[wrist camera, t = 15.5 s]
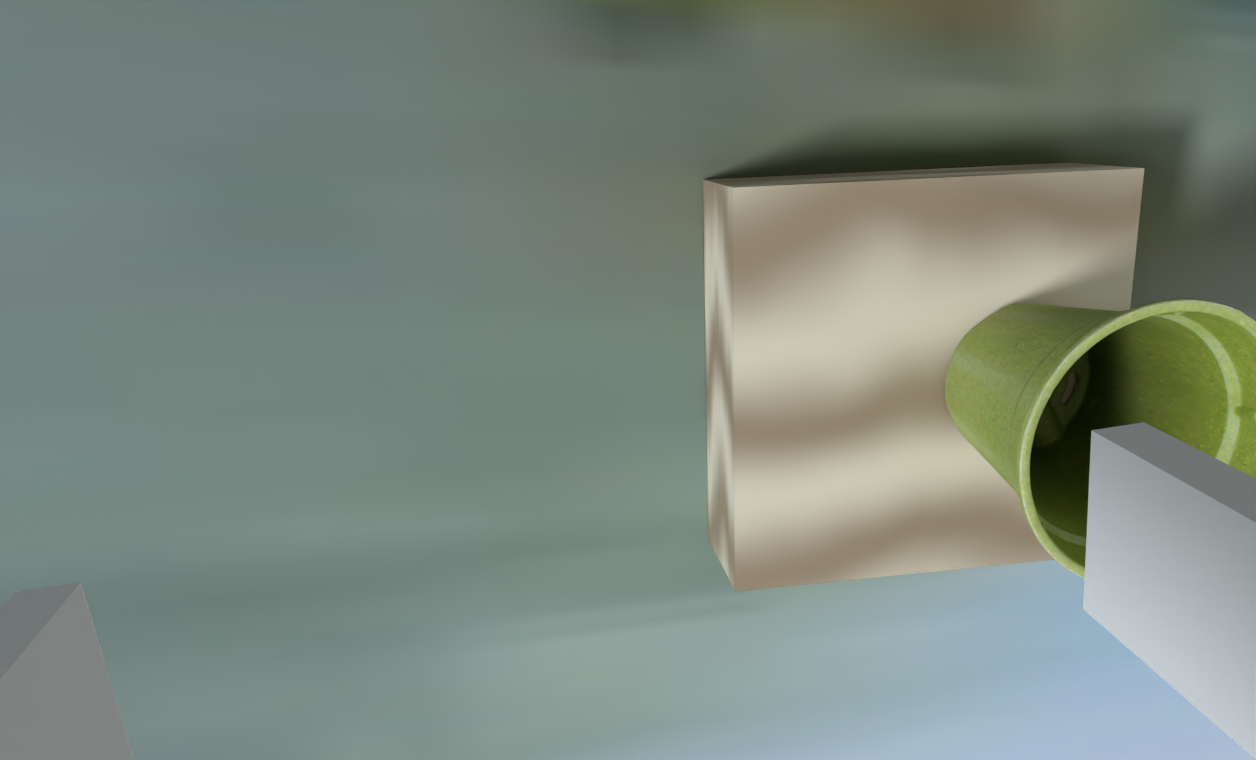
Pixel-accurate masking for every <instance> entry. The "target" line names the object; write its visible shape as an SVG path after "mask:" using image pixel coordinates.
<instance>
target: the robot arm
mask: <svg viewBox="0 0 1256 760" xmlns="http://www.w3.org/2000/svg"><path fill="white" fill-rule="evenodd" d="M1083 609H1084V610H1085V611H1086V612H1087V613H1088V614H1089V615H1091V616H1092V617H1093V618H1094V619H1095V620H1096V621H1097V622H1099V623H1100V624H1101V625H1102V626H1103V627H1104V628H1105V629H1107V630H1108V631H1109V632H1110V633H1111V634H1112V635H1114V636H1115V637H1116V638H1117V639H1118V640H1119V641H1120V642H1122V643H1123V644H1124V645H1125V646H1126V647H1127V648H1128V649H1130V650H1131V651H1132V652H1133V653H1134V654H1135V655H1137V656H1138V657H1139V658H1140V659H1141V660H1142V661H1143V662H1145V663H1146V664H1147V665H1148V666H1149V667H1150V668H1151V669H1153V670H1154V671H1155V672H1156V673H1157V674H1158V675H1160V676H1161V677H1162V678H1163V679H1164V680H1165V681H1166V682H1168V683H1169V684H1170V685H1171V686H1172V687H1173V688H1174V689H1176V690H1177V691H1178V692H1179V693H1180V694H1181V695H1183V696H1184V697H1185V698H1186V699H1187V700H1188V701H1189V702H1191V703H1192V704H1193V705H1194V706H1195V707H1196V708H1197V709H1199V710H1200V711H1201V712H1202V713H1203V714H1204V715H1206V716H1207V717H1208V718H1209V719H1210V720H1211V721H1212V722H1214V723H1215V724H1216V725H1217V726H1218V727H1219V728H1220V729H1222V730H1223V731H1224V732H1225V733H1226V734H1227V735H1229V736H1230V737H1231V738H1232V739H1233V740H1234V741H1235V742H1237V743H1238V744H1239V745H1240V746H1241V747H1242V748H1243V749H1245V750H1246V751H1247V752H1248V753H1249V754H1250V755H1252V756H1253V757H1254V758H1255V759H1256V479H1255V478H1253V477H1251V476H1249V475H1247V474H1245V473H1243V472H1241V471H1239V470H1237V469H1235V468H1233V467H1231V466H1229V465H1228V464H1226V463H1224V462H1222V461H1220V460H1218V459H1216V458H1214V457H1212V456H1210V455H1208V454H1206V453H1204V452H1202V451H1200V450H1198V449H1196V448H1194V447H1192V446H1190V445H1188V444H1186V443H1184V442H1182V441H1180V440H1178V439H1176V438H1174V437H1172V436H1170V435H1168V434H1166V433H1164V432H1162V431H1160V430H1158V429H1156V428H1154V427H1152V426H1150V425H1148V424H1146V423H1144V422H1143V423H1136V424H1130V425H1123V426H1116V427H1110V428H1103V429H1097V430H1091V449H1090V471H1089V493H1088V515H1087V536H1086V558H1085V580H1084V602H1083ZM0 760H134V756H133V753H132V750H131V746H130V743H129V740H128V736H127V733H126V730H125V726H124V723H123V720H122V717H121V713H120V710H119V707H118V703H117V700H116V697H115V693H114V690H113V687H112V683H111V680H110V677H109V673H108V670H107V667H106V664H105V660H104V657H103V654H102V650H101V647H100V644H99V640H98V637H97V634H96V630H95V627H94V624H93V620H92V617H91V614H90V611H89V607H88V604H87V601H86V597H85V594H84V591H83V587H82V584H81V582H79V583H73V584H66V585H59V586H53V587H46V588H40V589H33V590H26V591H20V592H15V593H14V594H13V595H12V596H11V597H10V598H9V599H8V600H7V601H6V602H5V603H4V604H3V605H2V606H1V607H0Z"/></svg>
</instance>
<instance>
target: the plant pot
mask: <svg viewBox="0 0 1256 760" xmlns="http://www.w3.org/2000/svg"><path fill="white" fill-rule="evenodd" d="M1072 372H1075V373H1076V375H1077V381H1076V387H1075V390H1074V392H1073V395H1072V397H1071V398H1070V400H1069V401H1068V402H1067V403H1066V404H1065V405H1063V404H1062V403H1061V400H1062V398H1063V394H1064V392H1065V390H1066V388H1067V385H1068V381H1069V376H1070V374H1071V373H1072ZM945 399H946V404H947V408H948V410H949V412H950V415H951V417H952V419H953V421H954V423H955V425H956V427H957V429H958V430H959V432H960V433H961V434H962V435H963V437H964V438H965V439H966V440H967V441H968V442H969V443H970V444H971V445H972V446H973V447H974V448H975V449H976V450H977V451H978V452H979V453H980V454H981V455H982V456H983V458H984V459H985V460H986V461H987V462H988V463H989V464H990V465H991V466H992V467H993V468H994V469H995V470H996V471H997V472H998V474H999V475H1000V476H1001V477H1002V478H1003V479H1004V480H1005V481H1006V482H1007V483H1008V484H1009V485H1010V486H1011V487H1012V488H1013V489H1014V490H1015V492H1016V493H1017V495H1018V497H1019V500H1020V502H1021V506H1022V509H1023V512H1024V515H1025V517H1026V520H1027V522H1028V524H1029V526H1030V528H1031V530H1032V532H1033V533H1034V535H1035V537H1036V538H1037V540H1038V541H1039V543H1040V544H1041V545H1042V546H1043V547H1044V549H1045V550H1046V551H1047V552H1048V553H1049V554H1050V555H1051V556H1052V557H1053V558H1054V559H1055V560H1056V561H1058V562H1059V563H1060V564H1061V565H1062V566H1064V567H1065V568H1067V569H1068V570H1070V571H1071V572H1073V573H1075V574H1077V575H1079V576H1081V577H1083V578H1085V558H1086V536H1087V515H1088V493H1089V471H1090V449H1091V430H1097V429H1103V428H1110V427H1116V426H1123V425H1130V424H1136V423H1143V422H1144V423H1146V424H1148V425H1150V426H1152V427H1154V428H1156V429H1158V430H1160V431H1162V432H1164V433H1166V434H1168V435H1170V436H1172V437H1174V438H1176V439H1178V440H1180V441H1182V442H1184V443H1186V444H1188V445H1190V446H1192V447H1194V448H1196V449H1198V450H1200V451H1202V452H1204V453H1206V454H1208V455H1210V456H1212V457H1214V458H1216V459H1218V460H1220V461H1222V462H1224V463H1226V464H1228V465H1229V466H1231V467H1233V468H1235V469H1237V470H1239V471H1241V472H1243V473H1245V474H1247V475H1249V476H1251V477H1253V478H1255V479H1256V320H1254V319H1253V318H1251V317H1250V316H1248V315H1246V314H1245V313H1243V312H1241V311H1239V310H1236V309H1234V308H1232V307H1229V306H1227V305H1224V304H1220V303H1216V302H1212V301H1207V300H1201V299H1168V300H1162V301H1156V302H1152V303H1148V304H1144V305H1140V306H1137V307H1134V308H1132V309H1129V310H1124V311H1112V310H1099V309H1087V308H1076V307H1065V306H1056V305H1044V304H1034V303H1027V304H1016V305H1011V306H1007V307H1004V308H1002V309H1000V310H999V311H998V312H996V313H995V314H993V315H992V316H990V317H989V318H987V319H986V320H984V321H983V322H981V323H980V324H979V325H977V326H976V327H974V328H972V329H971V330H969V331H968V333H967V334H966V335H965V336H964V337H963V339H962V340H961V341H960V343H959V344H958V346H957V348H956V349H955V351H954V354H953V356H952V358H951V361H950V364H949V366H948V369H947V374H946V380H945Z"/></svg>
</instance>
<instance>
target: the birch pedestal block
mask: <svg viewBox="0 0 1256 760" xmlns="http://www.w3.org/2000/svg"><path fill="white" fill-rule="evenodd" d="M1143 178H1144V168H1136V167H1123V166H1109V165H1095V164H1082V163H1049V164H1027V165H1005V166H984V167H962V168H940V169H919V170H897V171H875V172H854V173H832V174H810V175H789V176H767V177H745V178H724V179H703V198H704V264H705V329H706V395H707V461H708V526H709V541H710V543H711V545H712V547H713V549H714V551H715V553H716V555H717V557H718V559H719V561H720V562H721V564H722V566H723V568H724V570H725V572H726V574H727V576H728V578H729V580H730V582H731V583H732V585H733V587H734V589H735V591H745V590H755V589H765V588H775V587H785V586H795V585H805V584H815V583H825V582H835V581H845V580H855V579H865V578H875V577H885V576H895V575H905V574H915V573H925V572H935V571H945V570H955V569H965V568H975V567H985V566H995V565H1005V564H1015V563H1025V562H1035V561H1045V560H1055V559H1054V558H1053V557H1052V556H1051V555H1050V554H1049V553H1048V552H1047V551H1046V550H1045V549H1044V547H1043V546H1042V545H1041V544H1040V543H1039V541H1038V540H1037V538H1036V537H1035V535H1034V533H1033V532H1032V530H1031V528H1030V526H1029V524H1028V522H1027V520H1026V517H1025V515H1024V512H1023V509H1022V506H1021V502H1020V500H1019V497H1018V495H1017V493H1016V492H1015V490H1014V489H1013V488H1012V487H1011V486H1010V485H1009V484H1008V483H1007V482H1006V481H1005V480H1004V479H1003V478H1002V477H1001V476H1000V475H999V474H998V472H997V471H996V470H995V469H994V468H993V467H992V466H991V465H990V464H989V463H988V462H987V461H986V460H985V459H984V458H983V456H982V455H981V454H980V453H979V452H978V451H977V450H976V449H975V448H974V447H973V446H972V445H971V444H970V443H969V442H968V441H967V440H966V439H965V438H964V437H963V435H962V434H961V433H960V432H959V430H958V429H957V427H956V425H955V423H954V421H953V419H952V417H951V415H950V412H949V410H948V408H947V404H946V399H945V380H946V374H947V369H948V366H949V364H950V361H951V358H952V356H953V354H954V351H955V349H956V348H957V346H958V344H959V343H960V341H961V340H962V339H963V337H964V336H965V335H966V334H967V333H968V331H969V330H971V329H972V328H974V327H976V326H977V325H979V324H980V323H981V322H983V321H984V320H986V319H987V318H989V317H990V316H992V315H993V314H995V313H996V312H998V311H999V310H1000V309H1002V308H1004V307H1007V306H1011V305H1016V304H1027V303H1034V304H1044V305H1056V306H1065V307H1076V308H1087V309H1099V310H1112V311H1124V310H1129V309H1130V305H1131V295H1132V285H1133V276H1134V266H1135V256H1136V246H1137V237H1138V227H1139V217H1140V207H1141V198H1142V188H1143ZM1076 381H1077V375H1076V373H1075V372H1072V373H1071V374H1070V376H1069V381H1068V385H1067V388H1066V390H1065V392H1064V394H1063V398H1062V400H1061V403H1062V404H1063V405H1065V404H1066V403H1067V402H1068V401H1069V400H1070V398H1071V397H1072V395H1073V392H1074V390H1075V387H1076Z"/></svg>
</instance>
